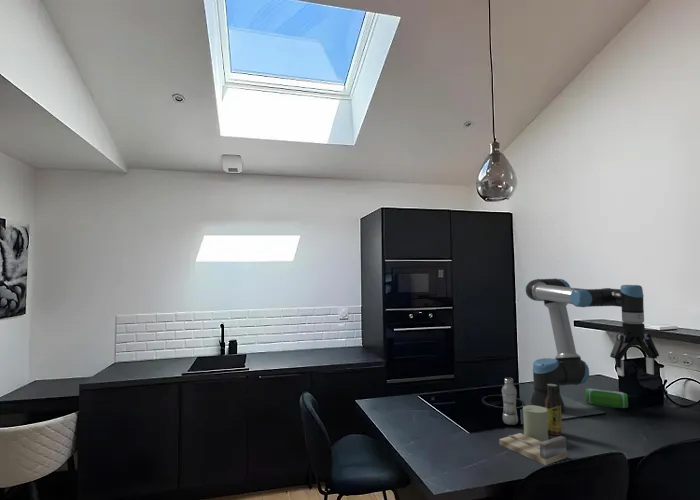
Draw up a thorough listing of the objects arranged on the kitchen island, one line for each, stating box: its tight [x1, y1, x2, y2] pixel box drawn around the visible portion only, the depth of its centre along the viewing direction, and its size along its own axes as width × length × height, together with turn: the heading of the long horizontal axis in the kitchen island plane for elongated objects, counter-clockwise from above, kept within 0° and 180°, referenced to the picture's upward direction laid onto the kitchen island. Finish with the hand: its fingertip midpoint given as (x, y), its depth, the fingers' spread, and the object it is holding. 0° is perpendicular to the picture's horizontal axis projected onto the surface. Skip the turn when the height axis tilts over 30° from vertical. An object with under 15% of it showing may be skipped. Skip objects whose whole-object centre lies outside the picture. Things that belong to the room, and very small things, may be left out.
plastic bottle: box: [501, 377, 519, 426], centre depth 178 cm, size 6×7×20 cm
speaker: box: [585, 388, 629, 409], centre depth 200 cm, size 18×7×8 cm, turn 58°
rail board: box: [498, 432, 568, 466], centre depth 152 cm, size 20×12×7 cm, turn 29°
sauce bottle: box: [545, 384, 563, 436], centre depth 168 cm, size 7×6×20 cm
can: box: [522, 404, 550, 442], centre depth 164 cm, size 9×9×12 cm
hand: (635, 374), depth 164 cm, fingers open, 13 cm apart
